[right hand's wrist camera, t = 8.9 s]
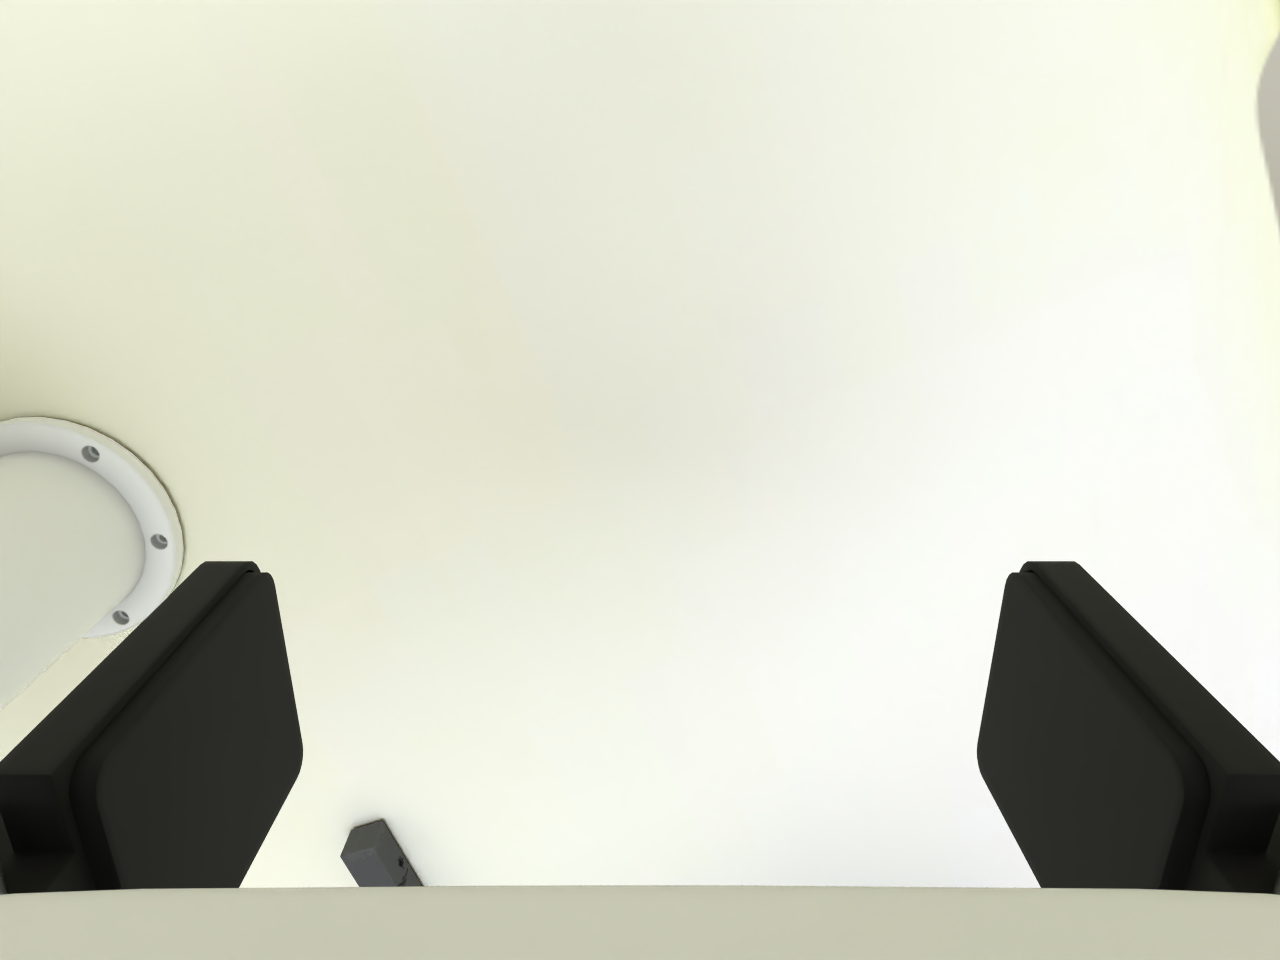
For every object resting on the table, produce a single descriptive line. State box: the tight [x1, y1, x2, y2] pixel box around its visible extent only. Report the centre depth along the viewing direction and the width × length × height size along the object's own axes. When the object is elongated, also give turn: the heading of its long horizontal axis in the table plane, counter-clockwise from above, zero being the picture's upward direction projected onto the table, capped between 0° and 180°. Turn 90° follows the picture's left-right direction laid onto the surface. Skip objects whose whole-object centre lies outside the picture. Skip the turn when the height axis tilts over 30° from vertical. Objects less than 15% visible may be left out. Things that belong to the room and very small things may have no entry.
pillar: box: [340, 820, 422, 887], centre depth 57 cm, size 2×2×20 cm
